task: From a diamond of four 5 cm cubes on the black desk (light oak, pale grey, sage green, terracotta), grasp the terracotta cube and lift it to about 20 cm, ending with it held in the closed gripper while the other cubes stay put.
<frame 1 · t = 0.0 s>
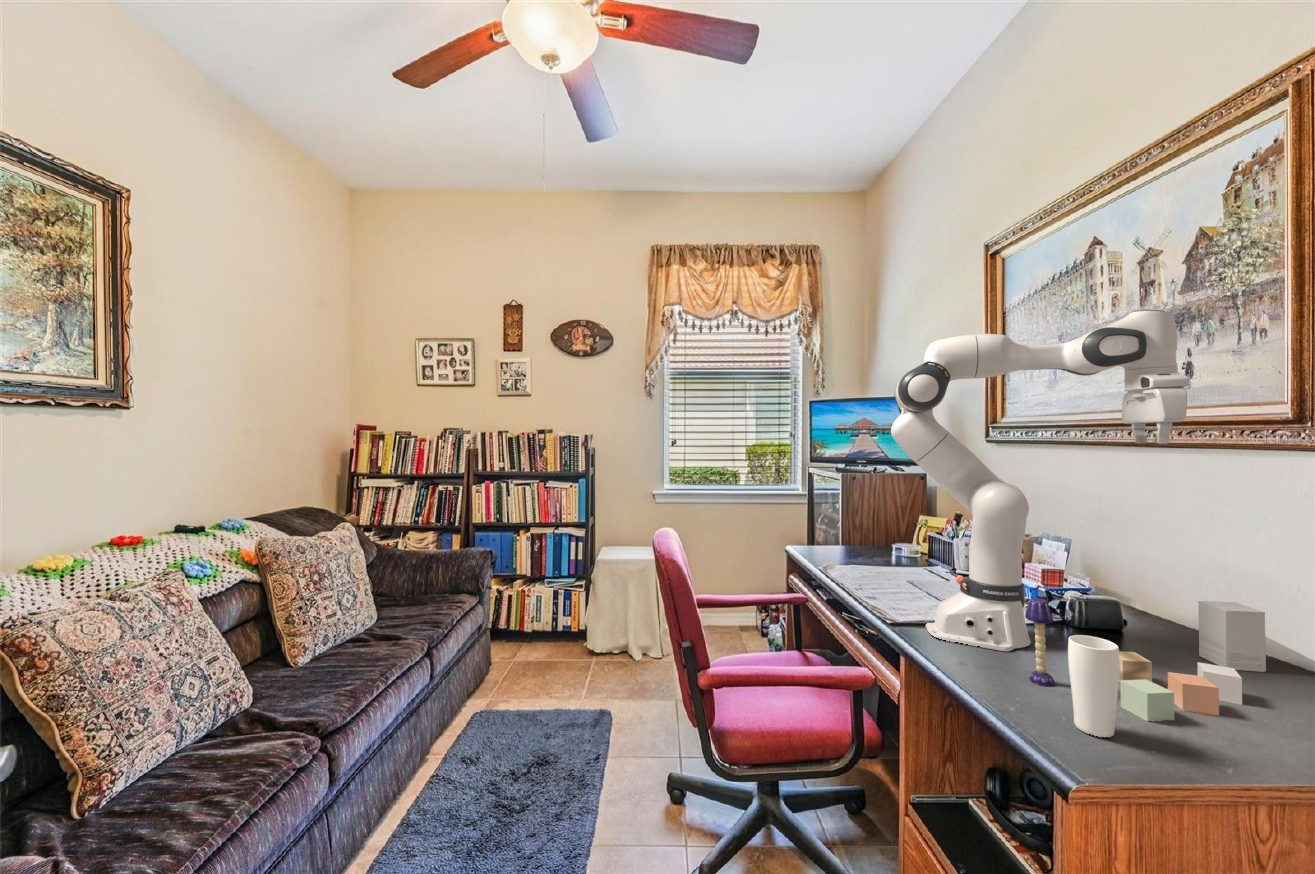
hand: (1151, 443, 120), 48 cm above the table, fingers open, 8 cm apart
oak block: (1128, 680, 108), on the table
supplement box: (1231, 664, 115), on the table
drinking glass: (1093, 731, 90), on the table
sage block: (1146, 714, 95), on the table
grey block: (1219, 696, 101), on the table
terracotta block: (1192, 707, 97), on the table
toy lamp: (1039, 682, 107), on the table
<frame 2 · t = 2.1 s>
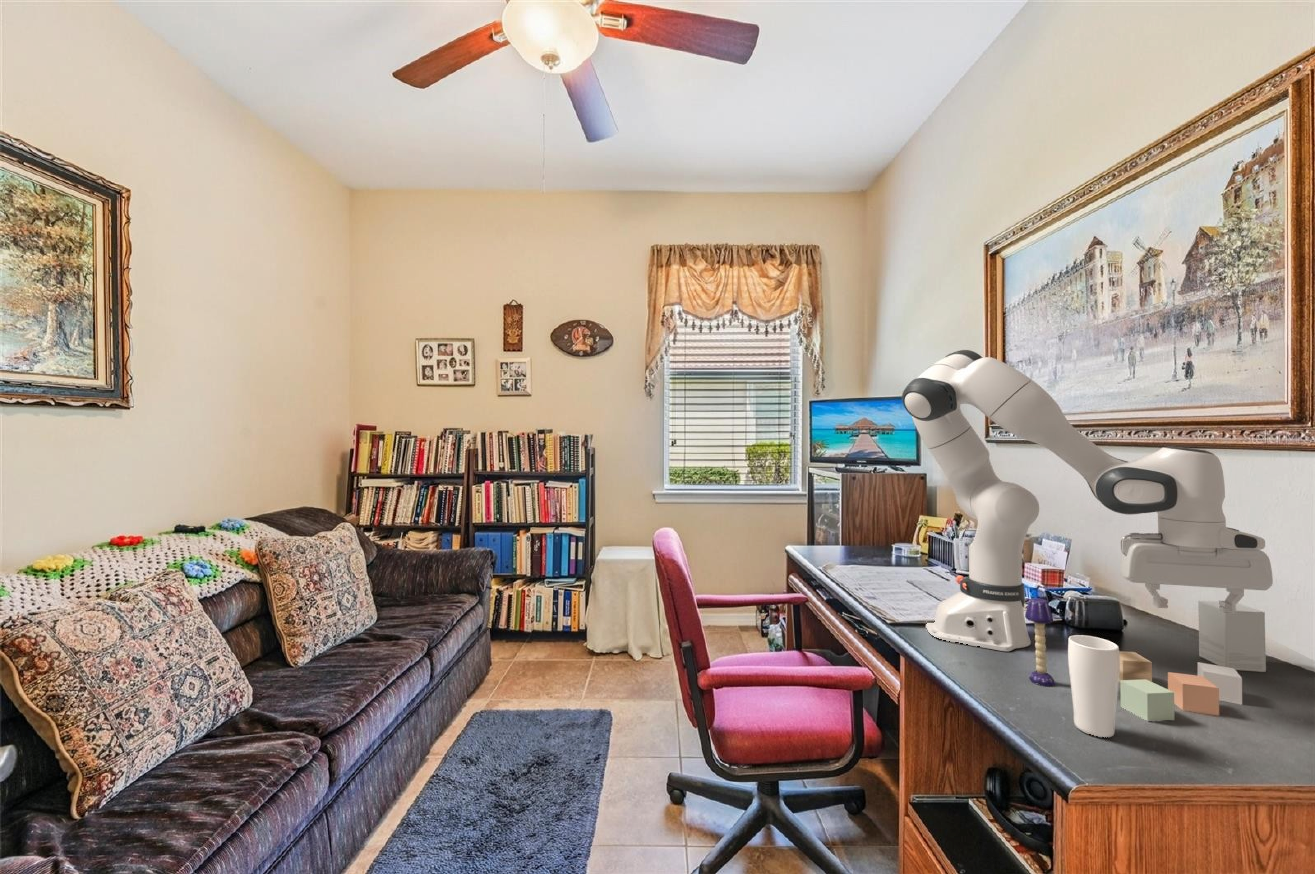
hand: (1193, 609, 97), 18 cm above the table, fingers open, 8 cm apart
nothing on the table moved.
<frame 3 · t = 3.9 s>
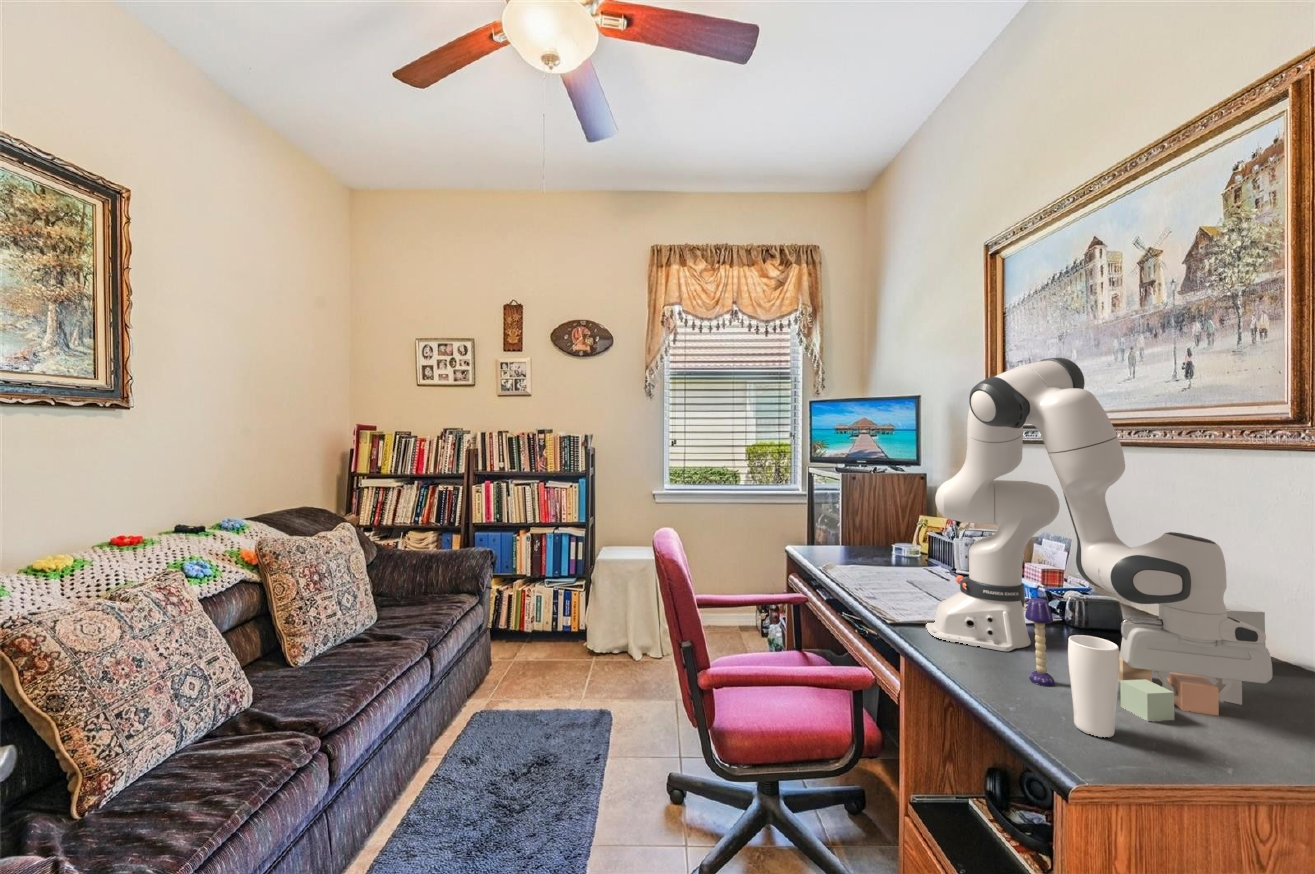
hand: (1192, 697, 97), 2 cm above the table, fingers closed on terracotta block, 5 cm apart
terracotta block: (1192, 706, 97), on the table, touching gripper
everything else where it was.
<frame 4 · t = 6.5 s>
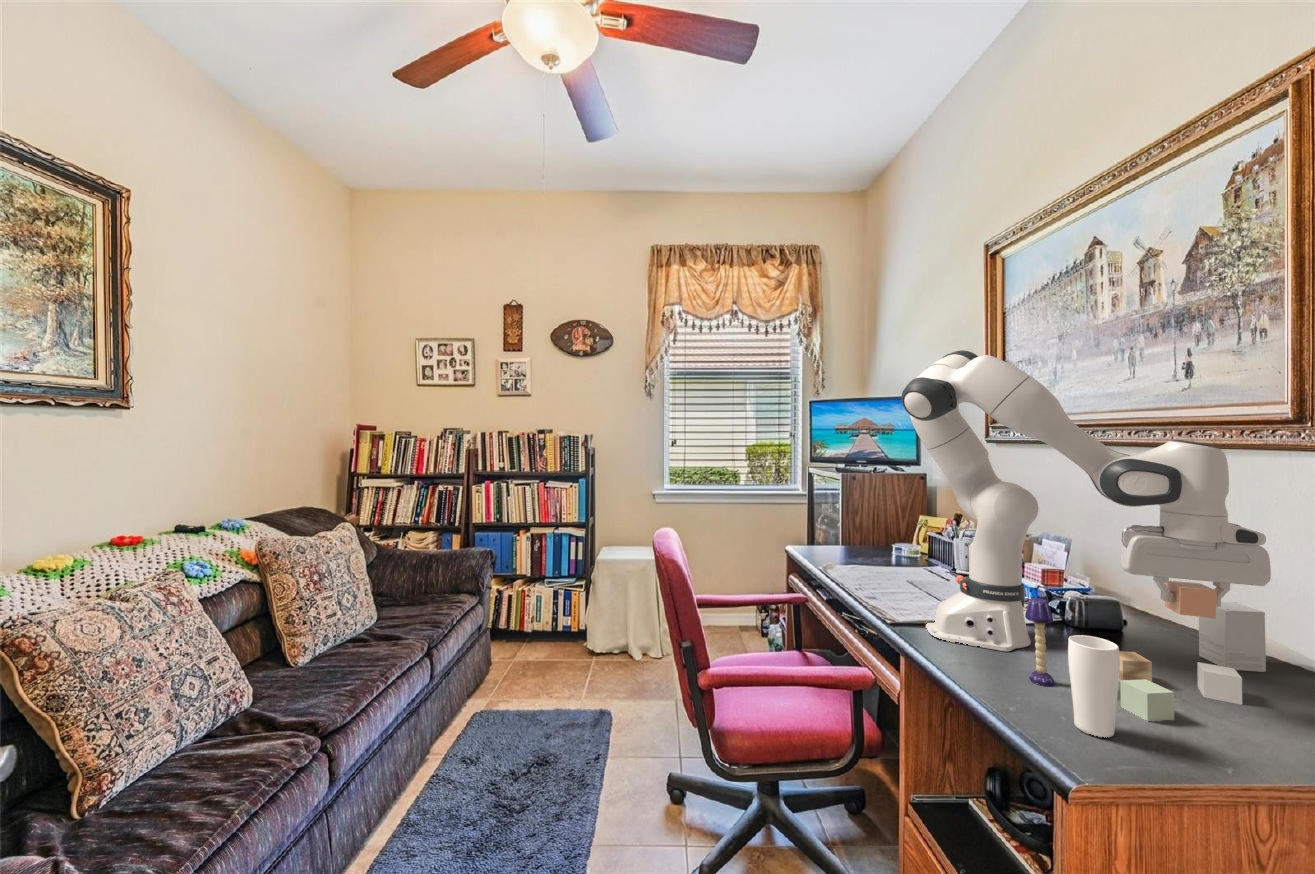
hand: (1190, 603, 97), 19 cm above the table, fingers closed on terracotta block, 5 cm apart
terracotta block: (1189, 612, 98), point 17 cm above the table, touching gripper
everything else where it was.
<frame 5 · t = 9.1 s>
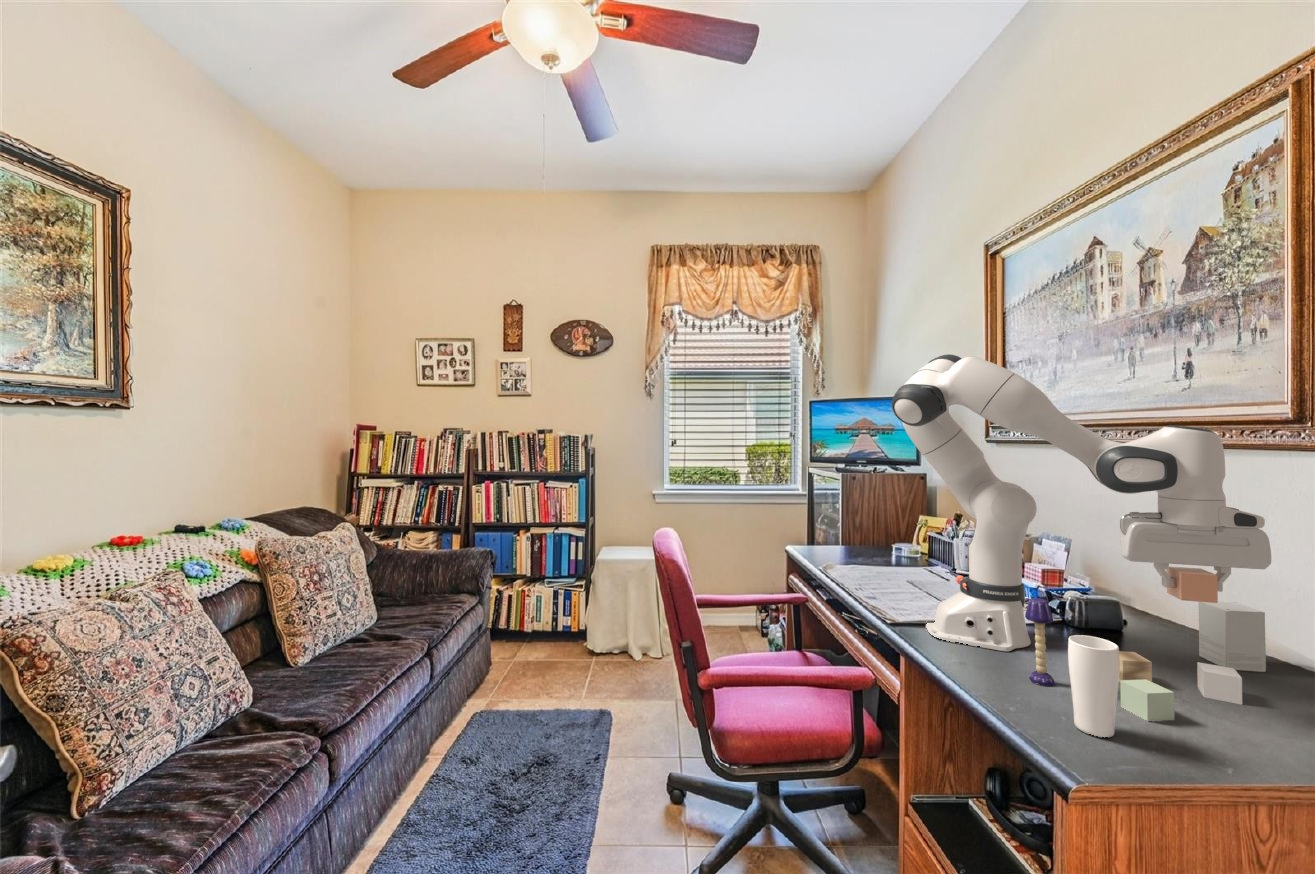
hand: (1191, 589, 97), 22 cm above the table, fingers closed on terracotta block, 5 cm apart
terracotta block: (1191, 597, 97), point 20 cm above the table, touching gripper
everything else where it was.
at the end: the gripper is holding terracotta block; terracotta block point 19.9 cm above the table; grey block moved 0.1 cm from its start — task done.
